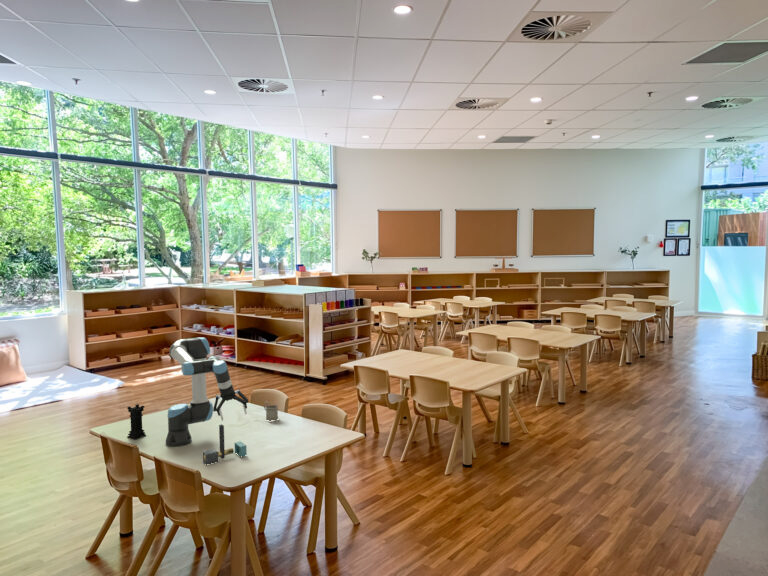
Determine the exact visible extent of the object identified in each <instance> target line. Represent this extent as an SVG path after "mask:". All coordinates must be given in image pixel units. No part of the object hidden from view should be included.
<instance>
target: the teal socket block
mask: <svg viewBox="0 0 768 576" xmlns="http://www.w3.org/2000/svg"><path fill="white" fill-rule="evenodd" d="M233 444H234V454H235V453H237V454H238V455H239V456H240V457H239V456H238V455H237V454H236V455H237V456H238V457H239V458H242V457H241V456H245V455H247V454H248V453H247V445H246V444H245V443H244V442H242V441H241V440H240V441H237V442H234V443H233ZM245 457H246V456H245Z"/></svg>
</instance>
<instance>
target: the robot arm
mask: <svg viewBox="0 0 768 576" xmlns="http://www.w3.org/2000/svg"><path fill="white" fill-rule="evenodd" d="M168 353H169V355H170V357H171V358H172V360H175V361H176V362H178V363H179V365H180V366H181V373H182V375H183V376H185V377H187V376H191V377H190V379H191V391H192V392H191V394H192V399H191V401H189V403H190V405H188V403H177V404H175V405H171V407H169V408H168V409H167V425H168V427H167V429H168V432H167V434H166V439H165V445H166V446H167V447H173V448H175V447H182V446H186V445H189V444H190V443H192V435H191V432H190V429H189V425H192V424H198V423H204V422H207V421H210V420H211V419H212V417H213V414H214V412H217V415H218V417H220V419H221V421H224V415H223V413H222V410H221V408H222V406H223V404H224V403H225V402H228V401H232V400H235V401H237V402H239V403H241V404H242V407H243V412H244V415H247V413H248V412H247V409H248V405H247V404H249V400H250V399H249V398H248V397H247V396H245V394H243V392H242V391H241V390H240V388H238V389H237V390H234V389H235V388H234V386H233V382H232V379H231V376H230V373H229V372H230V371H229V368H228V365H227V362H226V361H225V360H222V359H220V358H219V357H217V356H215V355H214V356H210V357H209V358H208V356H209V355H210V354H211V348H210V343H209V341H208V339H207V338H206V337H199V336H198V337H192V338H191V337H190V338H181V339H177V340H176V341H175V342H173V343H172V344H171V345H170V348H169V351H168ZM210 373H212V374H214V377H215V379H216V383H217V387H218V390H219V394H216V395H215V402H214V405H213V402H211V401H210V398H208V395H207V381H206V380H207V378H206V374H210ZM220 398H221V401H220V403H218V402H219V400H220Z"/></svg>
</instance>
